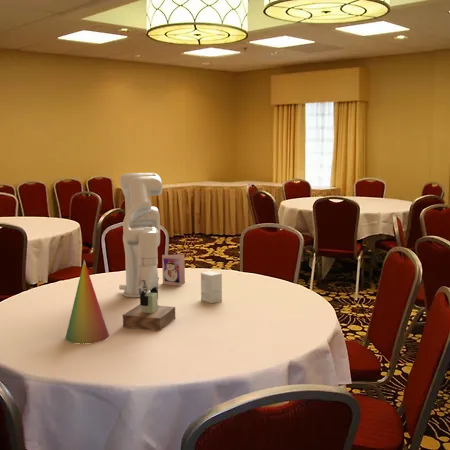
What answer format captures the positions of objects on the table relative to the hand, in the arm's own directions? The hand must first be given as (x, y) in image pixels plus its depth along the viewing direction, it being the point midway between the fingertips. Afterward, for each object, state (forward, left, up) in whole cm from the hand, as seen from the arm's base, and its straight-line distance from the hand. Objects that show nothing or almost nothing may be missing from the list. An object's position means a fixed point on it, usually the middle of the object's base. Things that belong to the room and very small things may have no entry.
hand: (149, 302), depth 236 cm
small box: (+14, +38, -9) cm, 41 cm away
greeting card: (-14, +63, -9) cm, 65 cm away
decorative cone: (-16, -22, -9) cm, 29 cm away
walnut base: (0, 0, -9) cm, 9 cm away
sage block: (0, 0, -4) cm, 4 cm away
